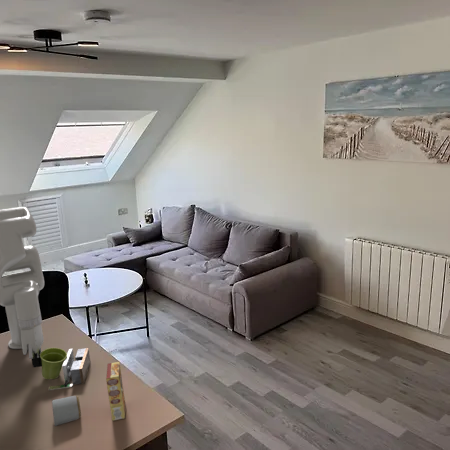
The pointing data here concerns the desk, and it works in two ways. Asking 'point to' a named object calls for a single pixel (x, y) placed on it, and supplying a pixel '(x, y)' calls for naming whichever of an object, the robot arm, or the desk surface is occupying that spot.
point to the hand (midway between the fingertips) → (38, 365)
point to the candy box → (115, 391)
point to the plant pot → (52, 362)
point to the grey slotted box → (77, 369)
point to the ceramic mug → (66, 409)
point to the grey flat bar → (68, 366)
